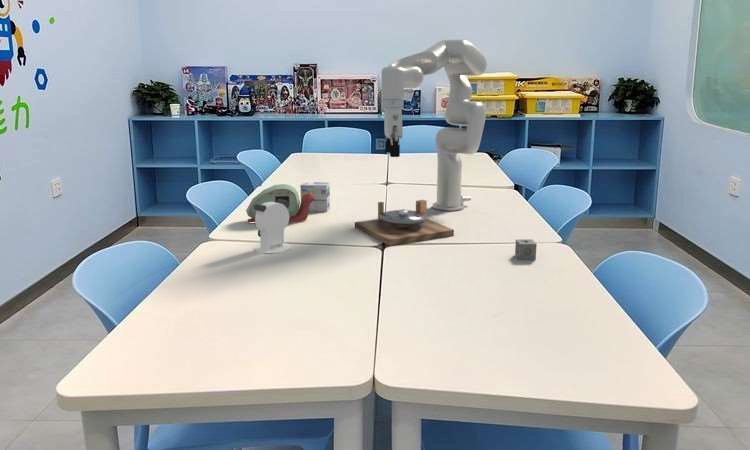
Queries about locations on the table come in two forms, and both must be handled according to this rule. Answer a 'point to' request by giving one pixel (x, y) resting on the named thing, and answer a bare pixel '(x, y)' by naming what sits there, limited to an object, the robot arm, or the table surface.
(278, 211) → the white mount stand
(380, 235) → the pivot base
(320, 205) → the light bulb box
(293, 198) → the toy snail
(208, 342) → the table surface
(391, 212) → the flange plate
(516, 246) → the dice cube
